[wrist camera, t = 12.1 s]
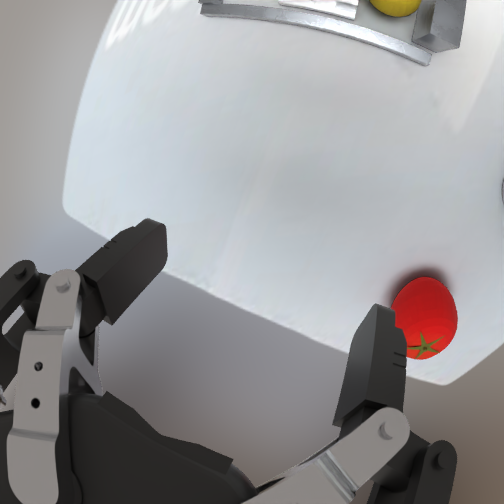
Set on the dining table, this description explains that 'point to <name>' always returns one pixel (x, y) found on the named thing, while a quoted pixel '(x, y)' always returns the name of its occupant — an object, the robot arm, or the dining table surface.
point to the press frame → (425, 32)
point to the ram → (326, 6)
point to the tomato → (425, 317)
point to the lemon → (396, 6)
